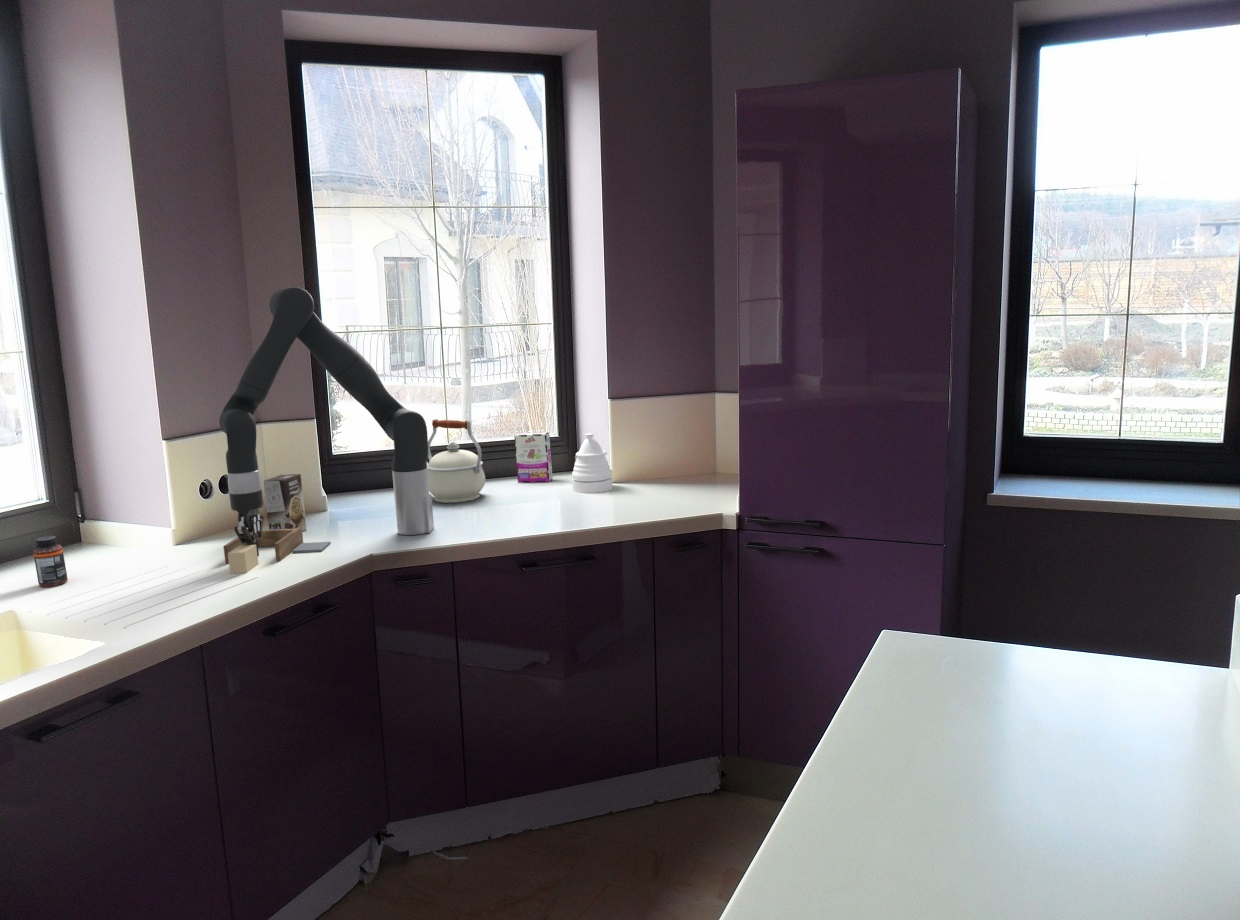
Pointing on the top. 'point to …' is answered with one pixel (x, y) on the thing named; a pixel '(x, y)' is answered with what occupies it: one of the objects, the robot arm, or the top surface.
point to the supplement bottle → (49, 562)
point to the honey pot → (591, 468)
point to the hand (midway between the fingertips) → (253, 557)
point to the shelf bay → (272, 542)
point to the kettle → (455, 468)
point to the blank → (243, 559)
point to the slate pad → (311, 547)
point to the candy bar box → (533, 457)
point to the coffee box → (285, 502)
